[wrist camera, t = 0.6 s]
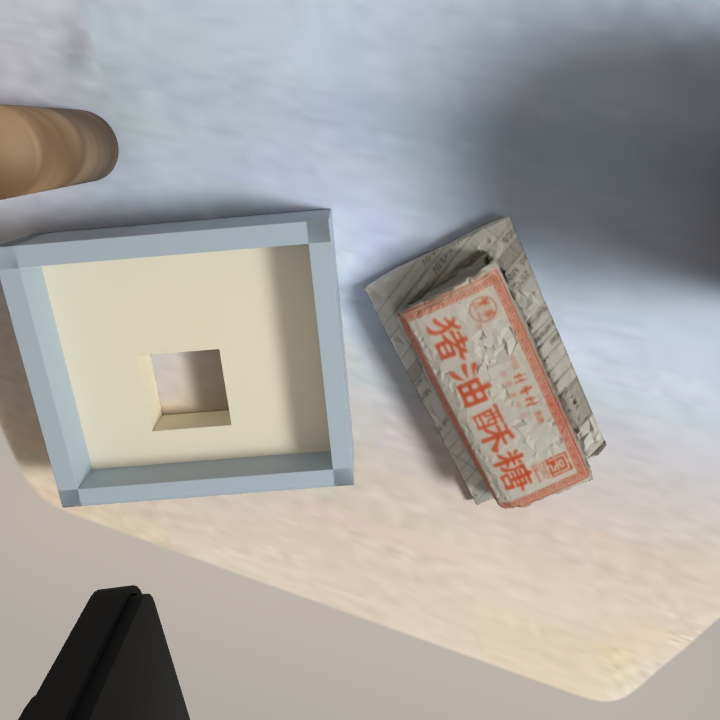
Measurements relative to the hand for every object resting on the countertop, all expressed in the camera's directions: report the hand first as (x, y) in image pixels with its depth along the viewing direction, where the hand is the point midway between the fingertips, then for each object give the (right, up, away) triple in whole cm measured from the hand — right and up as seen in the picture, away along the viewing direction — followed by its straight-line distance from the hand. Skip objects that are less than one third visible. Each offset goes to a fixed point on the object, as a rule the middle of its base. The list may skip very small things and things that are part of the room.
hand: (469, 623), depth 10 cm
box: (-12, +5, +33) cm, 35 cm away
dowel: (-18, +17, +29) cm, 38 cm away
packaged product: (+7, +4, +34) cm, 35 cm away
